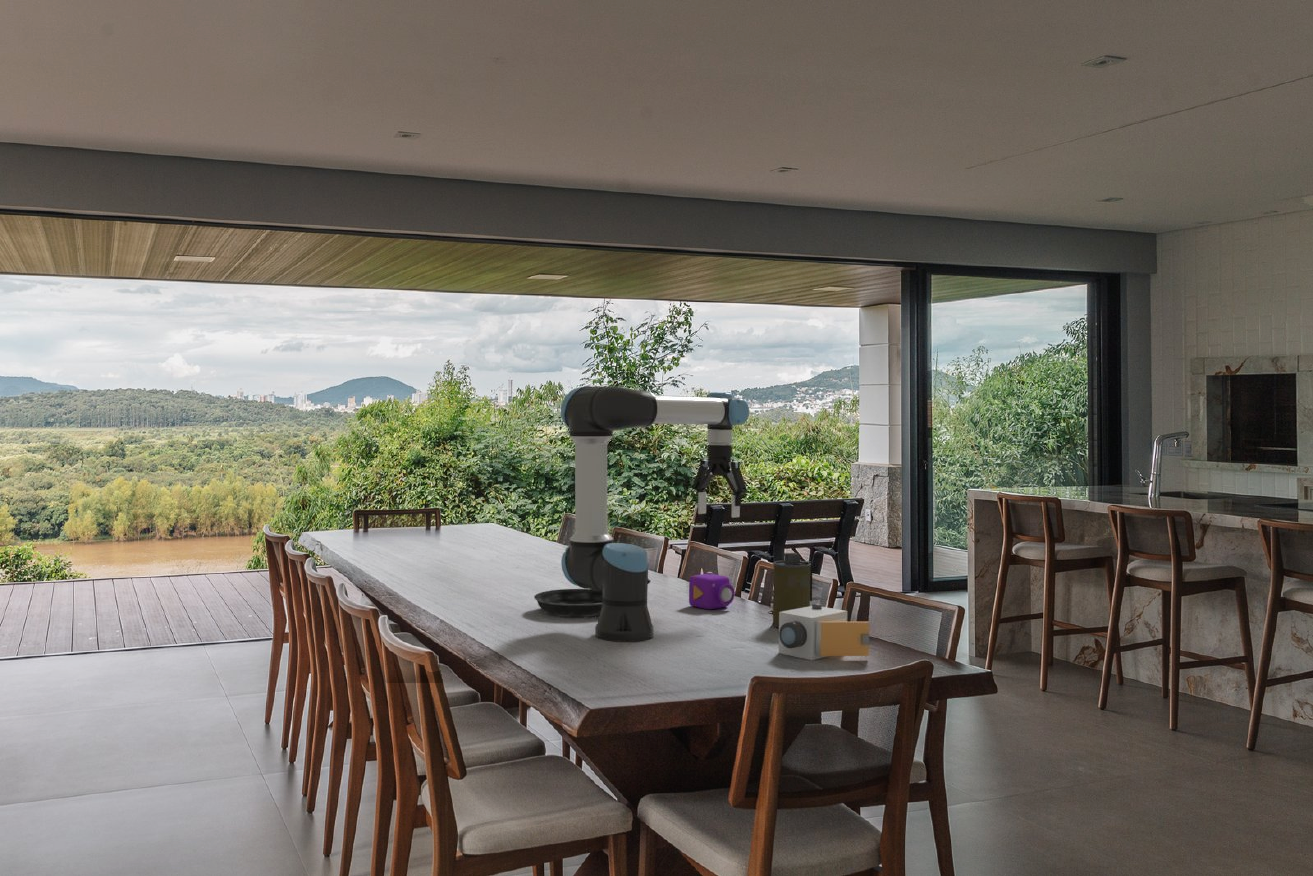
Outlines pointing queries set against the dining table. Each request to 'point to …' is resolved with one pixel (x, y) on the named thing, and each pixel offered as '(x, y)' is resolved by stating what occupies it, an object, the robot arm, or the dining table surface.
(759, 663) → the dining table surface
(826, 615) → the camera body
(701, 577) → the toy camera
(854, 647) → the battery door
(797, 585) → the canister
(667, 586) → the dining table surface
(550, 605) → the frying pan
